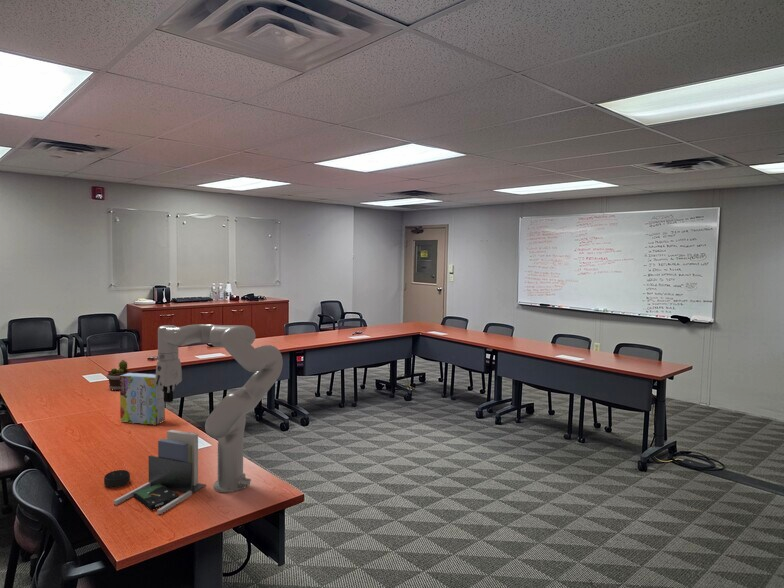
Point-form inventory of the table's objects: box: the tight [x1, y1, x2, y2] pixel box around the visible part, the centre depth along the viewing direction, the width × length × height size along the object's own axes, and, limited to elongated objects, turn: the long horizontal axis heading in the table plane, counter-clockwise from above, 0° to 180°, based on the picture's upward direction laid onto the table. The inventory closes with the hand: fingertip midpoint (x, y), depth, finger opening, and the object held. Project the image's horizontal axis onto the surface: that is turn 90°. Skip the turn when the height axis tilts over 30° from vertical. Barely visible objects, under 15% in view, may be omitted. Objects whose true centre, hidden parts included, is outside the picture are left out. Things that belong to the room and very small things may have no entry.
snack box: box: [119, 372, 166, 426], centre depth 271 cm, size 22×9×26 cm, turn 80°
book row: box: [157, 429, 199, 486], centre depth 197 cm, size 13×7×20 cm, turn 72°
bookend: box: [148, 455, 207, 495], centre depth 197 cm, size 20×8×12 cm, turn 72°
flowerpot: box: [106, 358, 132, 391], centre depth 335 cm, size 14×15×20 cm
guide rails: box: [113, 481, 193, 515], centre depth 186 cm, size 21×16×2 cm
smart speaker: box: [103, 469, 131, 489], centre depth 198 cm, size 9×9×4 cm
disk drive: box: [133, 483, 180, 511], centre depth 186 cm, size 10×3×15 cm
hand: (168, 401), depth 203 cm, fingers closed
